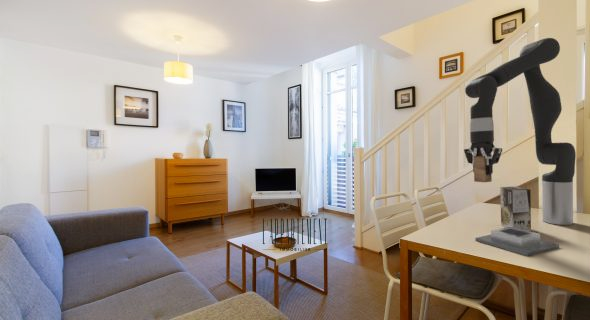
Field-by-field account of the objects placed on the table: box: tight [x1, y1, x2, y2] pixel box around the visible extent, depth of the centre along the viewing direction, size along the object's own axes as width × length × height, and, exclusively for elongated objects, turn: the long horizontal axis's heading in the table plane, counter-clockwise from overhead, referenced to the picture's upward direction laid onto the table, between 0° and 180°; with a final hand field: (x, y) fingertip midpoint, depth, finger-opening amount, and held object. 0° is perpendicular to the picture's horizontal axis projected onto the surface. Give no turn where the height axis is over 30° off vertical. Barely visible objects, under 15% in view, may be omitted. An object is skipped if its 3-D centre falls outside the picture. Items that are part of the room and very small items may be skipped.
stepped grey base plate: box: [474, 227, 560, 257], centre depth 92 cm, size 16×16×4 cm
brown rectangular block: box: [473, 156, 493, 183], centre depth 106 cm, size 4×4×10 cm
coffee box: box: [499, 186, 532, 232], centre depth 109 cm, size 9×6×16 cm
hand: (482, 174), depth 107 cm, fingers closed on brown rectangular block, 4 cm apart
